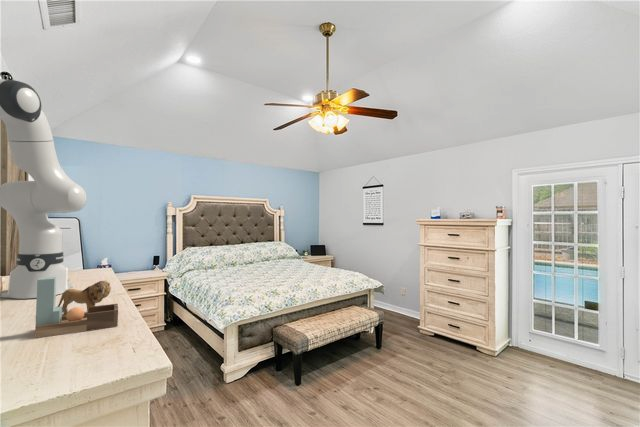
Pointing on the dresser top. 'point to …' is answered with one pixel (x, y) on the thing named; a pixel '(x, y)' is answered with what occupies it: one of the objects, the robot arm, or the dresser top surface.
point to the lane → (61, 327)
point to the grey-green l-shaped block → (47, 302)
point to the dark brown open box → (102, 317)
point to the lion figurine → (86, 295)
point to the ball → (75, 314)
